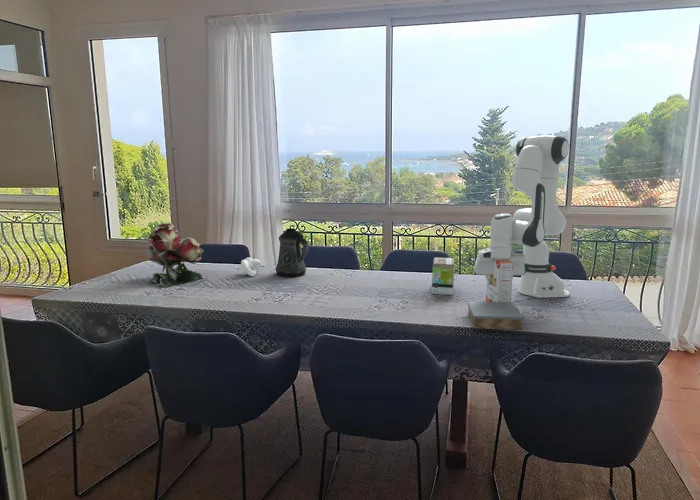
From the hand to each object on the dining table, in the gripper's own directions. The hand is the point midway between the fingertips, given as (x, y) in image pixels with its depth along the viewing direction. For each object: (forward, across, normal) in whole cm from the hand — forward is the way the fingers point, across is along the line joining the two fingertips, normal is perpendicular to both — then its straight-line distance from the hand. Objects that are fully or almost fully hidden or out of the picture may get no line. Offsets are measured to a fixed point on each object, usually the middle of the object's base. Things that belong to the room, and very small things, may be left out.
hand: (498, 284), depth 208 cm
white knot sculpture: (+10, +123, -47) cm, 132 cm away
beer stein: (+10, +99, -50) cm, 111 cm away
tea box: (+10, +21, -24) cm, 33 cm away
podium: (+10, +5, +19) cm, 22 cm away
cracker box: (+10, 0, 0) cm, 10 cm away
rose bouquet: (+10, +160, -34) cm, 164 cm away
